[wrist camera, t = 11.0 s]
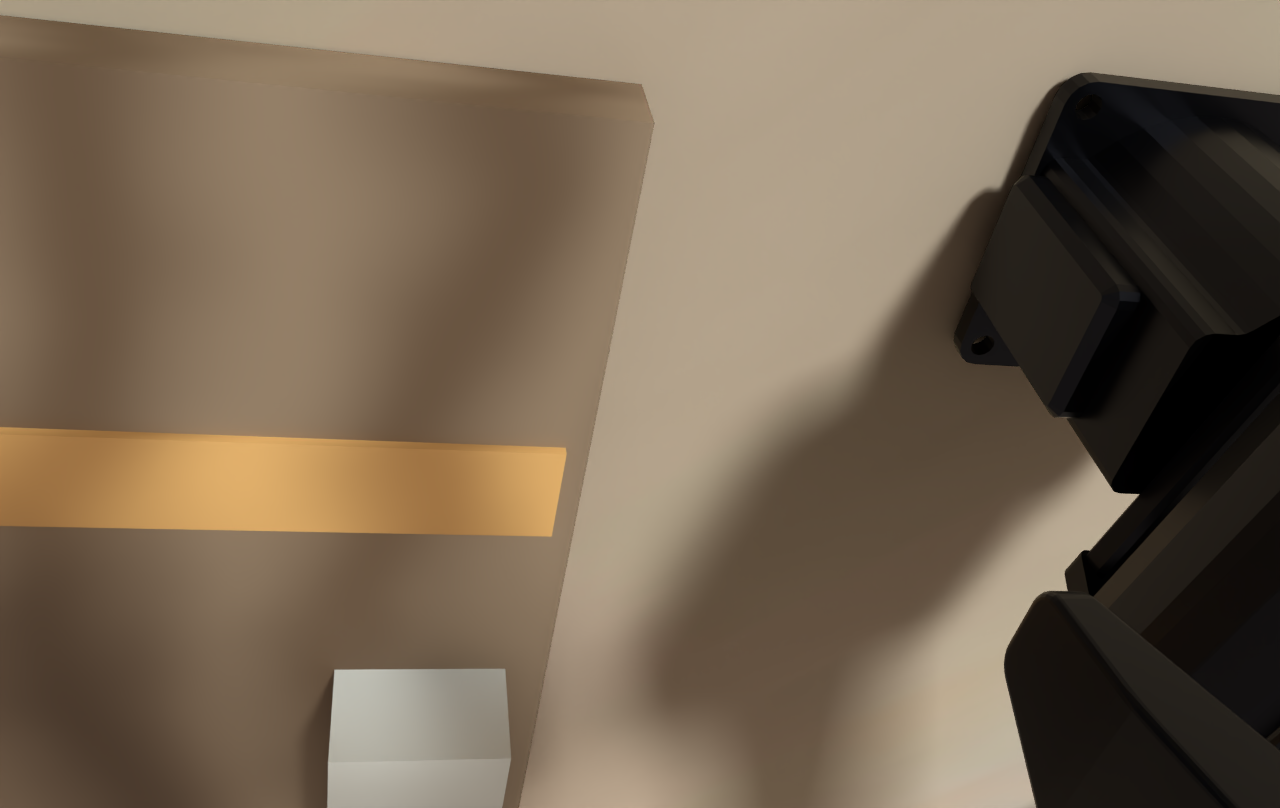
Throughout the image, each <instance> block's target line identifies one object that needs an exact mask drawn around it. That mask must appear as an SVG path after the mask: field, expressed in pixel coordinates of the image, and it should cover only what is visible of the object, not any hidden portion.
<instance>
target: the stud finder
mask: <svg viewBox="0 0 1280 808" xmlns="http://www.w3.org/2000/svg"><path fill="white" fill-rule="evenodd" d="M510 762H511V748H510V733H509V718H508V703H507V688H506V673H505V669H363V670H334V685H333V699H332V713H331V728H330V742H329V756H328V798H327V808H502V806H503V801H504V795H505V790H506V784H507V779H508V773H509V768H510Z"/></svg>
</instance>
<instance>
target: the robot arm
mask: <svg viewBox="0 0 1280 808" xmlns="http://www.w3.org/2000/svg"><path fill="white" fill-rule="evenodd" d="M1092 94H1093V96H1092V100H1091V101H1090V102H1089V104H1088V105H1087V106H1086V107H1084V108H1082V109H1081V110H1076V105H1077V104H1078V103H1079V101H1080V100H1081V99H1082V98H1084V97H1085V96H1087V95H1092ZM971 290H972V294H971V296H970V298H969V301H968V303H967V305H966V308H965V310H964V312H963V315H962V317H961V320H960V322H959V324H958V327H957V329H956V331H955V335H954V340H953V341H954V344H955V347H956V348H957V350H958V352H959V354H960V355H961V357H962V358H963V359H964V360H965V361H966V362H969V363H973V364H985V365H1002V366H1020V367H1021V369H1022V371H1023V372H1024V374H1025V375H1026V377H1027V378H1028V380H1029V382H1030V383H1031V385H1032V386H1033V388H1034V390H1035V391H1036V393H1037V394H1038V396H1039V397H1040V399H1041V401H1042V402H1043V404H1044V405H1045V407H1046V408H1047V410H1048V412H1049V413H1050V414H1051V415H1052V416H1053V417H1054V418H1067V420H1068V422H1069V423H1070V425H1071V426H1072V428H1073V429H1074V431H1075V432H1076V434H1077V435H1078V437H1079V439H1080V440H1081V442H1082V443H1083V445H1084V446H1085V448H1086V449H1087V451H1088V452H1089V454H1090V456H1091V457H1092V459H1093V460H1094V462H1095V463H1096V465H1097V466H1098V468H1099V469H1100V471H1101V473H1102V474H1103V476H1104V477H1105V479H1106V480H1107V482H1108V483H1109V485H1110V486H1111V488H1112V489H1113V491H1114V492H1118V493H1125V494H1139V495H1138V497H1137V498H1136V499H1135V500H1134V501H1133V502H1132V503H1131V505H1130V506H1129V507H1128V508H1127V509H1126V510H1125V511H1124V513H1123V514H1122V515H1121V516H1120V517H1119V518H1118V519H1117V521H1116V522H1115V523H1114V524H1113V525H1112V526H1111V527H1110V529H1109V530H1108V531H1107V532H1106V533H1105V534H1104V535H1103V536H1102V538H1101V539H1100V540H1099V541H1098V542H1097V543H1096V544H1095V546H1094V547H1093V548H1092V549H1091V550H1090V551H1088V550H1084V551H1082V552H1081V553H1080V554H1079V555H1078V557H1077V558H1076V559H1075V560H1074V561H1073V562H1072V563H1071V565H1070V566H1069V567H1068V568H1067V569H1066V570H1065V578H1066V584H1067V589H1068V591H1047V592H1043V593H1042V594H1040V595H1039V596H1038V597H1036V599H1035V600H1034V601H1033V603H1032V605H1031V607H1030V608H1029V610H1028V612H1027V614H1026V615H1025V617H1024V619H1023V621H1022V622H1021V624H1020V626H1019V628H1018V629H1017V631H1016V633H1015V634H1014V636H1013V638H1012V640H1011V641H1010V643H1009V645H1008V647H1007V650H1006V654H1005V660H1004V672H1005V678H1006V683H1007V687H1008V691H1009V695H1010V699H1011V704H1012V708H1013V712H1014V716H1015V720H1016V725H1017V729H1018V733H1019V737H1020V741H1021V746H1022V750H1023V754H1024V758H1025V762H1026V767H1027V771H1028V775H1029V779H1030V783H1031V788H1032V792H1033V796H1034V800H1035V804H1036V808H1280V95H1273V94H1265V93H1257V92H1248V91H1240V90H1232V89H1223V88H1215V87H1207V86H1199V85H1190V84H1182V83H1174V82H1165V81H1157V80H1149V79H1140V78H1132V77H1124V76H1116V75H1107V74H1099V73H1091V72H1090V73H1080V74H1078V75H1076V76H1073V77H1071V78H1070V79H1068V80H1067V81H1066V82H1065V83H1064V84H1063V85H1062V86H1061V87H1060V89H1059V90H1058V92H1057V93H1056V95H1055V97H1054V100H1053V102H1052V105H1051V107H1050V109H1049V112H1048V114H1047V116H1046V119H1045V121H1044V123H1043V126H1042V128H1041V131H1040V133H1039V135H1038V138H1037V140H1036V142H1035V145H1034V147H1033V149H1032V152H1031V154H1030V157H1029V159H1028V161H1027V164H1026V166H1025V168H1024V171H1023V173H1022V175H1021V178H1020V179H1019V180H1018V181H1017V182H1016V183H1015V184H1014V185H1013V186H1012V189H1011V191H1010V193H1009V196H1008V198H1007V200H1006V203H1005V205H1004V208H1003V210H1002V212H1001V215H1000V217H999V219H998V222H997V224H996V227H995V229H994V231H993V234H992V236H991V239H990V241H989V243H988V246H987V248H986V250H985V253H984V255H983V258H982V260H981V262H980V265H979V267H978V269H977V272H976V274H975V277H974V279H973V281H972V284H971ZM982 336H986V337H985V338H984V339H983V340H982V341H980V342H979V343H975V344H973V342H974V341H975V340H976V339H978V338H979V337H982Z"/></svg>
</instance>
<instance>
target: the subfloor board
mask: <svg viewBox="0 0 1280 808" xmlns="http://www.w3.org/2000/svg"><path fill="white" fill-rule="evenodd" d="M653 127H654V121H653V118H652V115H651V112H650V109H649V106H648V102H647V99H646V96H645V93H644V90H643V87H642V84H633V83H624V82H614V81H605V80H596V79H586V78H577V77H568V76H559V75H549V74H540V73H531V72H521V71H512V70H503V69H494V68H484V67H475V66H466V65H456V64H447V63H438V62H428V61H419V60H410V59H401V58H391V57H382V56H373V55H363V54H354V53H345V52H336V51H326V50H317V49H308V48H298V47H289V46H280V45H271V44H261V43H252V42H243V41H233V40H224V39H215V38H206V37H196V36H187V35H178V34H168V33H159V32H150V31H141V30H131V29H122V28H113V27H103V26H94V25H85V24H76V23H66V22H57V21H48V20H38V19H29V18H20V17H11V16H1V15H0V808H327V798H328V756H329V742H330V728H331V713H332V699H333V685H334V670H363V669H505V673H506V688H507V703H508V718H509V733H510V748H511V762H510V768H509V773H508V779H507V784H506V790H505V795H504V801H503V806H502V808H519V803H520V798H521V793H522V788H523V783H524V778H525V773H526V768H527V763H528V758H529V753H530V748H531V743H532V738H533V733H534V728H535V722H536V717H537V712H538V707H539V702H540V697H541V692H542V687H543V682H544V677H545V672H546V667H547V662H548V657H549V652H550V647H551V642H552V637H553V632H554V627H555V622H556V617H557V612H558V606H559V601H560V596H561V591H562V586H563V581H564V576H565V571H566V566H567V561H568V556H569V551H570V546H571V541H572V536H573V531H574V526H575V521H576V516H577V511H578V506H579V501H580V496H581V491H582V485H583V480H584V475H585V470H586V465H587V460H588V455H589V450H590V445H591V440H592V435H593V430H594V425H595V420H596V415H597V410H598V405H599V400H600V395H601V390H602V385H603V380H604V375H605V369H606V364H607V359H608V354H609V349H610V344H611V339H612V334H613V329H614V324H615V319H616V314H617V309H618V304H619V299H620V294H621V289H622V284H623V279H624V274H625V269H626V264H627V259H628V253H629V248H630V243H631V238H632V233H633V228H634V223H635V218H636V213H637V208H638V203H639V198H640V193H641V188H642V183H643V178H644V173H645V168H646V163H647V158H648V153H649V148H650V143H651V137H652V132H653Z"/></svg>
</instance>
